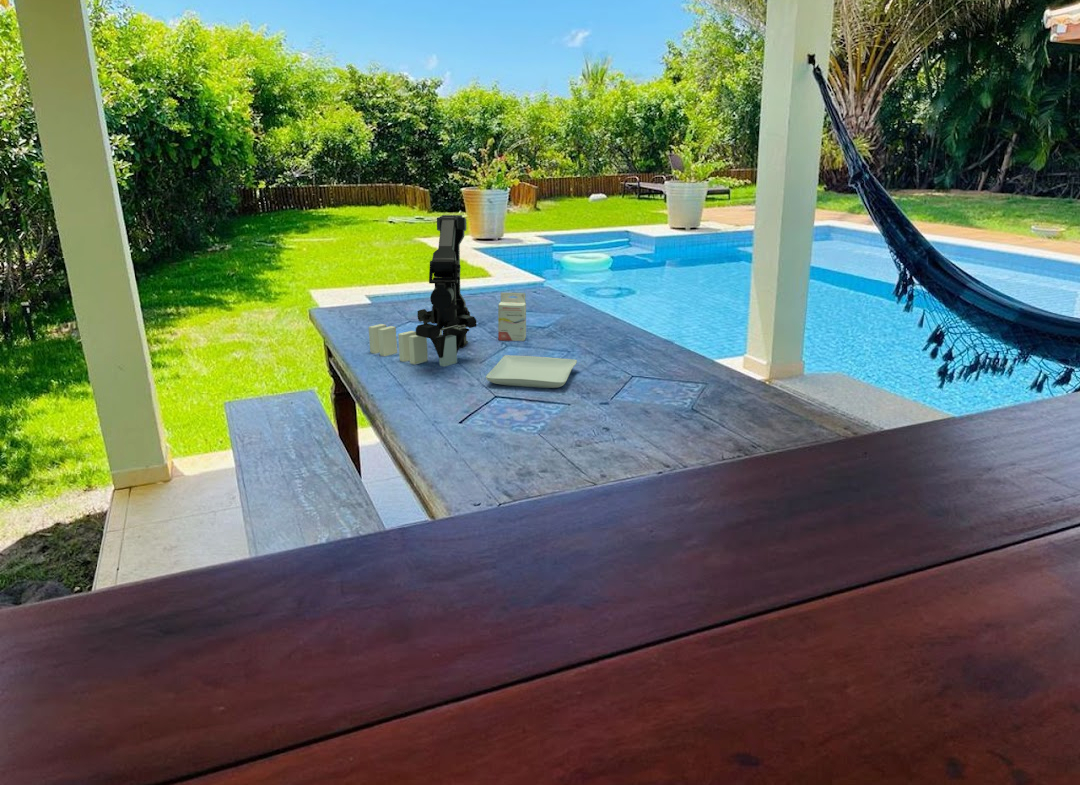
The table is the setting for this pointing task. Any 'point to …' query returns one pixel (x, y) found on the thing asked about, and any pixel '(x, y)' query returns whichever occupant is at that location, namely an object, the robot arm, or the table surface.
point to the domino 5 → (449, 351)
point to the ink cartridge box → (512, 317)
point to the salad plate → (531, 371)
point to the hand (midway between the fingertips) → (447, 355)
